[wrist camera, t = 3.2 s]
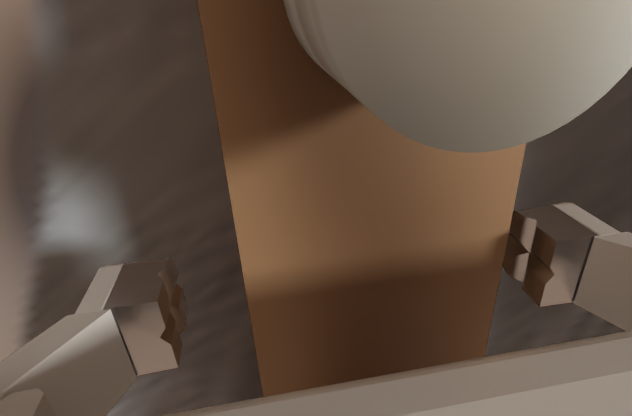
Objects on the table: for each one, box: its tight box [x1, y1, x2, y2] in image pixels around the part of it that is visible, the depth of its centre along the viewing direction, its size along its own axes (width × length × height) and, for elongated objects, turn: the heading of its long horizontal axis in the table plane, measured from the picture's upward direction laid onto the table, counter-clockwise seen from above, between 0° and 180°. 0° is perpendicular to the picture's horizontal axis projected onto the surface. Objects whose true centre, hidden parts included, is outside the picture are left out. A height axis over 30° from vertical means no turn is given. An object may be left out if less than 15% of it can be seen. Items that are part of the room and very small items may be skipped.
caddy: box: [197, 0, 632, 397], centre depth 9 cm, size 6×19×8 cm, turn 3°
